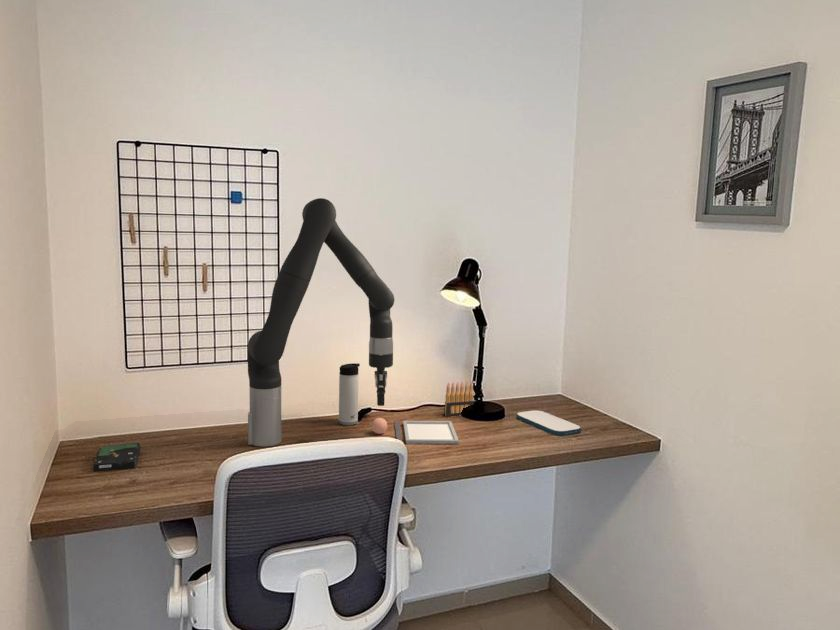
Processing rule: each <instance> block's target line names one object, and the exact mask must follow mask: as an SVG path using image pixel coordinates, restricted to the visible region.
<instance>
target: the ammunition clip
mask: <svg viewBox="0 0 840 630" xmlns="http://www.w3.org/2000/svg"><path fill="white" fill-rule="evenodd" d="M445 392H446V393H445V402H444V410H443V411H444V412H443V416H444V417H445V418H452V417H451V416H456V417H460V416H459V415H461V412H462V410H463V408H466V407H468V406H471V405H473V404H474V385H473V381H470V383H469V382H468V381H466V382H465V385H464V382H463V381H461V384H459V382H458V381H457V382H456V385H455V383H454V382H452V383H451V386H450V383H449V382H448V383H447V385H446V391H445ZM474 405H475V404H474Z"/></svg>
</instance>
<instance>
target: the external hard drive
mask: <svg viewBox="0 0 840 630" xmlns="http://www.w3.org/2000/svg"><path fill="white" fill-rule="evenodd" d="M516 419H517V420H518V419H519V421H520V420H521V421H520V422H523V421H524V422H523V423H525V422H526V423H525V424H527V423H528V424H527V425H529V424H530V426H532V425H533V426H532V427H534V426H535V427H534V428H536V427H537V428H536V429H539V430H541V429H542V431H543V430H544V432H545V431H546V433H548V434H550V433H551V435H553V434H554V435H553V436H557V435H560V436H559V437H564V435H566V436H570V434H572V435H576V433H577V434H580V433H581V431H582V428H581V426H580V425H578V424H576V423H573V422H571V421H568V420H566V419H563V418H561V417H558V416H556V415H553V414H551V413H549V412H546V411H542V410H534V409H533V410H527V411H519V412H517V413H516ZM579 432H580V433H579Z"/></svg>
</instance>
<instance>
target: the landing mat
mask: <svg viewBox="0 0 840 630" xmlns="http://www.w3.org/2000/svg"><path fill="white" fill-rule="evenodd" d="M402 425H403V426H402V427H403V433H404V441H405V444H406V445H459V444H460V443H459V442H460V441H459V437H458V435H457V432H456V430H455V428H454V424H453V422H452V421H451V420H402ZM394 427H395V429H394V430H395V438H397V439H399V440H403V439H402V433H401V425H400V421H394Z"/></svg>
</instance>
